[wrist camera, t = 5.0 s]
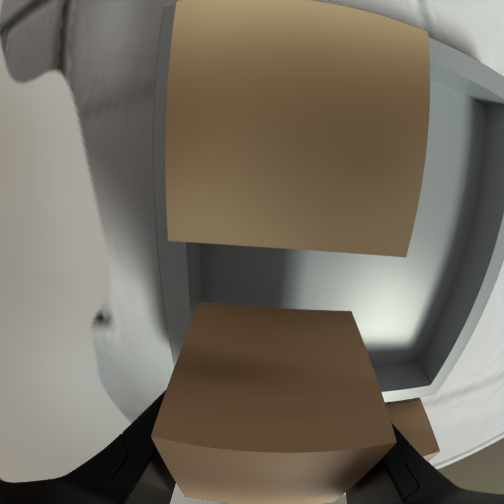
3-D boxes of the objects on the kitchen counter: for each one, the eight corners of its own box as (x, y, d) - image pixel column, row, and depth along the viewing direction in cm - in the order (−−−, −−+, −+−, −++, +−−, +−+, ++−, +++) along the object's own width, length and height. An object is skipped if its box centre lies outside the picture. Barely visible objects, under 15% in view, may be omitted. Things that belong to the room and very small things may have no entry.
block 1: (348, 200, 10) (406, 257, 5) (213, 190, 10) (167, 240, 6) (358, 70, 8) (427, 32, 3) (218, 58, 8) (176, 0, 3)
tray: (421, 365, 14) (435, 394, 12) (191, 362, 14) (180, 397, 12) (492, 93, 8) (526, 93, 5) (185, 30, 8) (163, 7, 6)
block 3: (394, 432, 18) (407, 478, 13) (341, 439, 18) (348, 491, 13) (420, 398, 16) (439, 451, 11) (361, 406, 16) (374, 467, 11)
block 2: (321, 400, 11) (332, 502, 6) (206, 394, 11) (184, 496, 6) (351, 310, 9) (396, 442, 4) (199, 301, 9) (150, 436, 4)
